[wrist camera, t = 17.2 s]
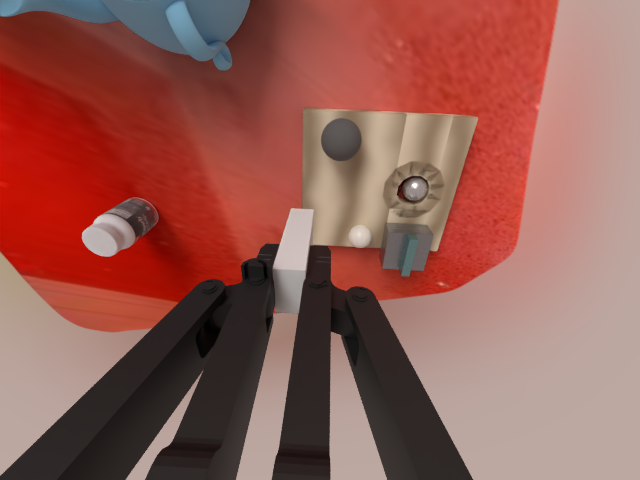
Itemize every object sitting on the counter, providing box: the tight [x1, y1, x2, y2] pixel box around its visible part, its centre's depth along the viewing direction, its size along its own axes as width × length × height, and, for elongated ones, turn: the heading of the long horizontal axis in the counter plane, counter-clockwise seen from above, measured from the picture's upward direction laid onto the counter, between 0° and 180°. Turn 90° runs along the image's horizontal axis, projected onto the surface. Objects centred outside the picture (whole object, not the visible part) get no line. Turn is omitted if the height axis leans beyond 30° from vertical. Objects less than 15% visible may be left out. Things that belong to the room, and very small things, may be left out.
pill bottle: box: [82, 197, 158, 257], centre depth 42 cm, size 6×6×10 cm
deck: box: [302, 108, 478, 251], centre depth 41 cm, size 22×20×2 cm
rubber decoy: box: [321, 118, 362, 161], centre depth 34 cm, size 5×5×5 cm
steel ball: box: [402, 176, 427, 201], centre depth 40 cm, size 4×4×4 cm
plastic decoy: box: [349, 225, 372, 248], centre depth 42 cm, size 4×4×4 cm
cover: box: [379, 223, 434, 276], centre depth 42 cm, size 6×6×5 cm
